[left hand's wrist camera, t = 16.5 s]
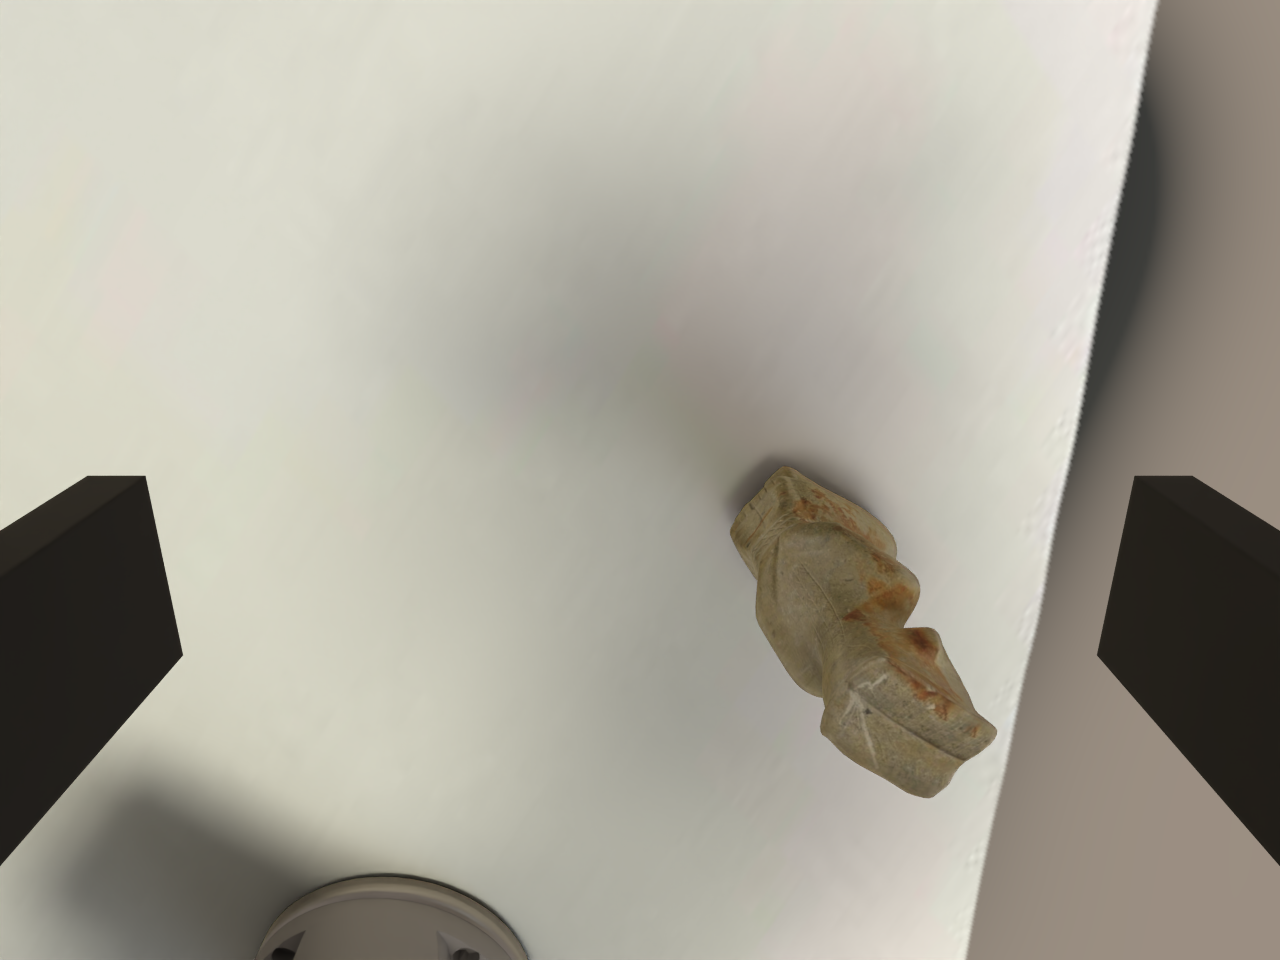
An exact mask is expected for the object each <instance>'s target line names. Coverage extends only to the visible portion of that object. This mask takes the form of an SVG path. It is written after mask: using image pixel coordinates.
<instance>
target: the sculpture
mask: <svg viewBox="0 0 1280 960" xmlns="http://www.w3.org/2000/svg"><path fill="white" fill-rule="evenodd" d="M730 535H731V538H732V540H733V542H734V544H735V546H736V548H737V550H738V552H739V554H740V555H741V557H742V559H743V560H744V562H745V564H746V565H747V567H748V568H749V570H750V571H751V573H752V574H753V576H754V577H755V578H756V579H757V580H758V582H757V594H756V618H757V621H758V624H759V626H760V628H761V629H762V631H763V633H764V635H765V636H766V638H767V640H768V641H769V643H770V645H771V646H772V648H773V649H774V651H775V653H776V654H777V656H778V658H779V659H780V661H781V663H782V664H783V666H784V667H785V669H786V671H787V672H788V673H789V675H790V676H791V678H792V679H793V680H794V681H795V683H796V684H797V685H798V686H799V687H800V688H802V689H803V690H805V691H806V692H808V693H810V694H812V695H814V696H816V697H821V698H823V701H824V705H825V710H824V713H823V716H822V720H821V725H820V730H821V733H822V735H823V736H825V737H827V738H828V739H829V740H830V741H831V742H832V743H833V744H834V745H835V746H836V747H837V748H838V749H839V750H840V751H841V752H842V753H843V754H844V755H846V756H847V757H848V758H850V759H851V760H853V761H854V762H856V763H857V764H859V765H860V766H862V767H864V768H866V769H868V770H870V771H871V772H873V773H875V774H877V775H879V776H881V777H882V778H884V779H886V780H888V781H889V782H891V783H892V784H894V785H896V786H897V787H899V788H900V789H902V790H904V791H905V792H907V793H910V794H912V795H915V796H919V797H923V798H931V797H934V796H935V795H936V794H937V793H939V792H940V791H941V790H943V789H944V788H945V787H947V785H948V784H949V783H950V781H951V779H952V777H953V775H954V773H955V772H956V771H957V769H958V768H959V767H960V766H961V765H962V764H963V763H964V762H965V761H967V760H969V759H970V758H972V757H974V756H975V755H977V754H979V753H980V752H981V751H982V750H984V749H985V748H986V747H987V746H989V745H990V744H991V743H992V741H993V740H994V739H995V737H996V735H997V730H996V728H995V727H994V726H993V725H992V724H991V723H989V722H988V721H987V720H986V719H984V718H983V717H982V716H981V715H979V714H978V713H977V712H976V710H975V709H974V707H973V704H972V702H971V699H970V697H969V694H968V692H967V691H966V689H965V687H964V685H963V683H962V681H961V679H960V677H959V675H958V673H957V672H956V670H955V668H954V667H953V665H952V663H951V661H950V660H949V658H948V656H947V653H946V651H945V649H944V647H943V645H942V641H941V638H940V636H939V634H938V633H937V632H936V631H935V630H934V629H932V628H929V627H919V628H904V625H905V623H906V621H907V620H908V618H909V616H910V615H911V613H912V612H913V610H914V608H915V606H916V604H917V602H918V599H919V595H920V585H919V581H918V579H917V578H916V576H915V575H914V574H913V573H912V572H911V571H910V570H909V569H907V568H906V567H905V566H903V565H902V564H901V563H900V562H898V561H897V560H896V554H897V547H896V542H895V540H894V538H893V536H892V534H891V533H890V532H889V531H888V529H887V528H886V527H885V526H884V525H883V524H882V523H881V522H880V521H879V520H878V519H876V518H875V517H874V516H872V515H871V514H870V513H868V512H867V511H866V510H864V509H862V508H861V507H859V506H857V505H856V504H854V503H852V502H850V501H849V500H847V499H845V498H843V497H841V496H839V495H837V494H835V493H833V492H831V491H829V490H827V489H825V488H823V487H821V486H819V485H818V484H816V483H815V482H813V481H812V480H810V479H809V478H807V477H805V476H803V475H802V474H801V473H800V472H798V471H797V470H795V469H793V468H790V467H787V466H783V467H781V468H780V469H778V470H777V471H776V472H775V473H774V474H773V475H772V476H771V477H770V478H769V479H768V480H767V481H766V482H765V484H764V487H763V488H762V489H761V490H760V491H759V492H758V494H757V495H756V496H755V497H754V498H753V499H752V500H751V501H750V502H748V503H747V504H746V505H745V506H744V507H743V509H742V510H741V512H740V513H739V514H738V516H737V517H736V519H735V521H734V523H733V525H732V527H731V529H730Z"/></svg>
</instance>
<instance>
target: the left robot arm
mask: <svg viewBox="0 0 1280 960" xmlns="http://www.w3.org/2000/svg"><path fill="white" fill-rule="evenodd" d="M182 656H183V653H182V648H181V643H180V639H179V634H178V629H177V624H176V619H175V615H174V610H173V605H172V600H171V596H170V591H169V586H168V581H167V577H166V572H165V567H164V562H163V557H162V553H161V548H160V543H159V538H158V534H157V529H156V524H155V519H154V515H153V510H152V505H151V500H150V495H149V491H148V486H147V481H146V476H87V477H85V478H83V479H82V480H80V481H79V482H77V483H75V484H74V485H72V486H71V487H69V488H68V489H66V490H64V491H63V492H61V493H60V494H58V495H56V496H55V497H53V498H52V499H50V500H48V501H47V502H45V503H44V504H42V505H40V506H39V507H37V508H36V509H34V510H33V511H31V512H29V513H28V514H26V515H25V516H23V517H21V518H20V519H18V520H17V521H15V522H13V523H12V524H10V525H9V526H7V527H6V528H4V529H2V530H1V531H0V866H1V864H2V863H3V862H4V861H5V860H6V859H7V858H8V856H9V855H10V854H11V853H12V852H13V851H14V849H15V848H16V847H17V846H18V845H19V844H20V843H21V841H22V840H23V839H24V838H25V837H26V836H27V834H28V833H29V832H30V831H31V830H32V829H33V828H34V826H35V825H36V824H37V823H38V822H39V821H40V819H41V818H42V817H43V816H44V815H45V814H46V813H47V811H48V810H49V809H50V808H51V807H52V806H53V805H54V803H55V802H56V801H57V800H58V799H59V798H60V796H61V795H62V794H63V793H64V792H65V791H66V790H67V788H68V787H69V786H70V785H71V784H72V783H73V781H74V780H75V779H76V778H77V777H78V776H79V775H80V773H81V772H82V771H83V770H84V769H85V768H86V766H87V765H88V764H89V763H90V762H91V761H92V760H93V758H94V757H95V756H96V755H97V754H98V753H99V751H100V750H101V749H102V748H103V747H104V746H105V745H106V743H107V742H108V741H109V740H110V739H111V738H112V737H113V735H114V734H115V733H116V732H117V731H118V730H119V728H120V727H121V726H122V725H123V724H124V723H125V722H126V720H127V719H128V718H129V717H130V716H131V715H132V713H133V712H134V711H135V710H136V709H137V708H138V707H139V705H140V704H141V703H142V702H143V701H144V700H145V698H146V697H147V696H148V695H149V694H150V693H151V692H152V690H153V689H154V688H155V687H156V686H157V685H158V683H159V682H160V681H161V680H162V679H163V678H164V677H165V675H166V674H167V673H168V672H169V671H170V670H171V669H172V667H173V666H174V665H175V664H176V663H177V662H178V660H179V659H180V658H181V657H182ZM1097 656H1098V657H1099V658H1100V659H1101V660H1102V662H1103V663H1104V664H1105V665H1106V666H1107V667H1108V668H1109V670H1110V671H1111V672H1112V673H1113V674H1114V675H1115V677H1116V678H1117V679H1118V680H1119V681H1120V682H1121V683H1122V685H1123V686H1124V687H1125V688H1126V689H1127V690H1128V692H1129V693H1130V694H1131V695H1132V696H1133V697H1134V698H1135V700H1136V701H1137V702H1138V703H1139V704H1140V705H1141V706H1142V708H1143V709H1144V710H1145V711H1146V712H1147V713H1148V715H1149V716H1150V717H1151V718H1152V719H1153V720H1154V722H1155V723H1156V724H1157V725H1158V726H1159V727H1160V728H1161V730H1162V731H1163V732H1164V733H1165V734H1166V735H1167V736H1168V738H1169V739H1170V740H1171V741H1172V742H1173V743H1174V745H1175V746H1176V747H1177V748H1178V749H1179V750H1180V751H1181V753H1182V754H1183V755H1184V756H1185V757H1186V758H1187V760H1188V761H1189V762H1190V763H1191V764H1192V765H1193V766H1194V768H1195V769H1196V770H1197V771H1198V772H1199V773H1200V775H1201V776H1202V777H1203V778H1204V779H1205V780H1206V781H1207V783H1208V784H1209V785H1210V786H1211V787H1212V788H1213V789H1214V791H1215V792H1216V793H1217V794H1218V795H1219V796H1220V798H1221V799H1222V800H1223V801H1224V802H1225V803H1226V805H1227V806H1228V807H1229V808H1230V809H1231V810H1232V811H1233V813H1234V814H1235V815H1236V816H1237V817H1238V818H1239V819H1240V821H1241V822H1242V823H1243V824H1244V825H1245V826H1246V828H1247V829H1248V830H1249V831H1250V832H1251V833H1252V834H1253V836H1254V837H1255V838H1256V839H1257V840H1258V841H1259V843H1260V844H1261V845H1262V846H1263V847H1264V848H1265V849H1266V851H1267V852H1268V853H1269V854H1270V855H1271V856H1272V858H1273V859H1274V860H1275V861H1276V862H1277V863H1278V864H1279V866H1280V531H1279V530H1278V529H1276V528H1274V527H1273V526H1271V525H1270V524H1268V523H1267V522H1265V521H1263V520H1262V519H1260V518H1259V517H1257V516H1255V515H1254V514H1252V513H1251V512H1249V511H1247V510H1246V509H1244V508H1243V507H1241V506H1239V505H1238V504H1236V503H1235V502H1233V501H1232V500H1230V499H1228V498H1227V497H1225V496H1224V495H1222V494H1220V493H1219V492H1217V491H1216V490H1214V489H1212V488H1211V487H1209V486H1208V485H1206V484H1204V483H1203V482H1201V481H1200V480H1198V479H1197V478H1195V477H1193V476H1135V477H1134V481H1133V486H1132V491H1131V495H1130V500H1129V505H1128V510H1127V515H1126V519H1125V524H1124V529H1123V534H1122V538H1121V543H1120V548H1119V553H1118V557H1117V562H1116V567H1115V572H1114V577H1113V581H1112V586H1111V591H1110V596H1109V601H1108V605H1107V610H1106V615H1105V620H1104V624H1103V629H1102V634H1101V639H1100V643H1099V648H1098V653H1097ZM255 960H528V959H527V956H526V954H525V952H524V950H523V948H522V946H521V944H520V943H519V941H518V940H517V938H516V937H515V936H514V934H513V933H512V932H511V931H510V929H509V928H508V927H507V926H506V925H505V924H504V923H503V922H502V921H501V920H500V919H499V918H498V917H497V916H495V915H494V914H493V913H492V912H490V911H489V910H488V909H486V908H485V907H483V906H482V905H480V904H479V903H477V902H476V901H474V900H472V899H470V898H468V897H466V896H465V895H462V894H460V893H458V892H456V891H453V890H451V889H448V888H445V887H442V886H439V885H436V884H432V883H429V882H425V881H420V880H414V879H408V878H399V877H366V878H357V879H351V880H346V881H341V882H338V883H334V884H331V885H328V886H325V887H322V888H320V889H317V890H315V891H313V892H311V893H309V894H307V895H305V896H304V897H302V898H300V899H299V900H297V901H296V902H294V903H293V904H292V905H291V906H289V907H288V908H287V909H286V910H285V911H284V912H283V913H282V914H281V915H280V916H279V917H278V918H277V919H276V920H275V922H274V923H273V924H272V925H271V927H270V929H269V930H268V932H267V934H266V936H265V938H264V940H263V942H262V945H261V947H260V949H259V951H258V953H257V955H256V958H255Z"/></svg>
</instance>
